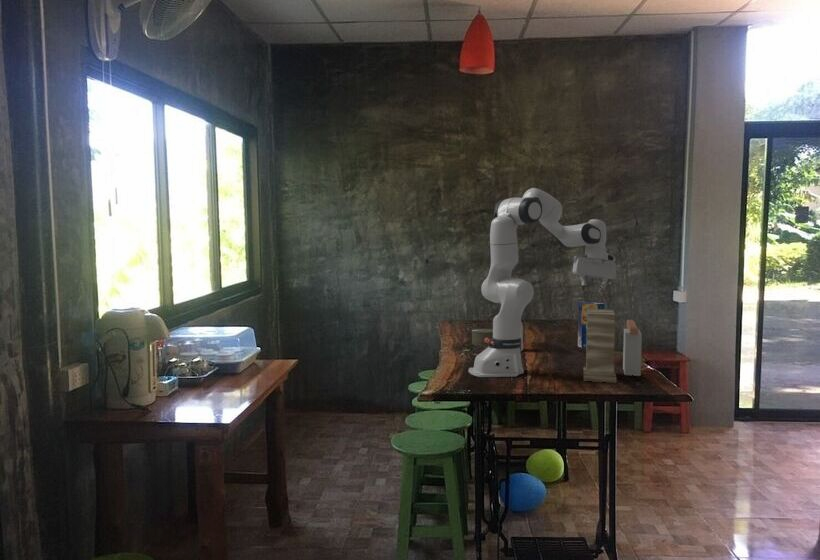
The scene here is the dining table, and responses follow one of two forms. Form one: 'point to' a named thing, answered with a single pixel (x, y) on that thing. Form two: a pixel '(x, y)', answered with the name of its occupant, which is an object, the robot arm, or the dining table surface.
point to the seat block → (632, 353)
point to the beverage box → (585, 320)
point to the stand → (600, 346)
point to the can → (481, 336)
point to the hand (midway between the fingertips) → (593, 286)
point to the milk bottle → (521, 335)
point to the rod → (632, 327)
